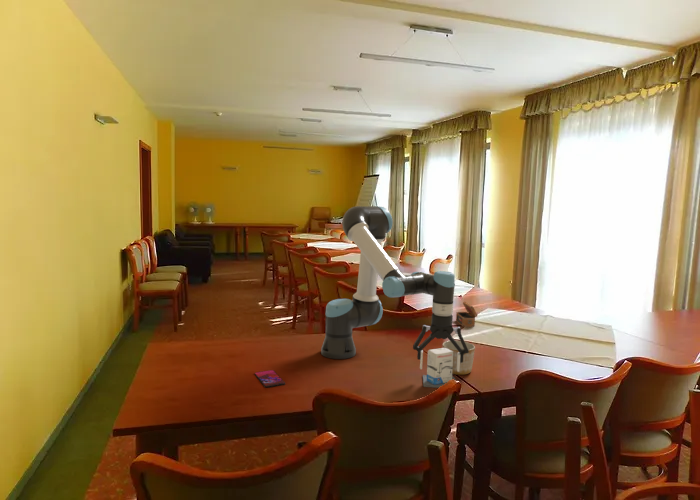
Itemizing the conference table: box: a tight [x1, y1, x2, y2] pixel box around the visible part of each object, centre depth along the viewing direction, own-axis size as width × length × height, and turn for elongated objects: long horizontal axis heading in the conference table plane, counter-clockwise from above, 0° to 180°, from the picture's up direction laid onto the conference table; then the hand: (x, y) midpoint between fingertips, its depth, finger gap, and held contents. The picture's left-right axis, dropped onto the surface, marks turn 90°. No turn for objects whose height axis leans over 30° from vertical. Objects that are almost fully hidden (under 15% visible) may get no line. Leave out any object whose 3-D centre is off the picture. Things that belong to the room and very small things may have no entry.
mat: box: [422, 374, 456, 389], centre depth 173 cm, size 12×10×1 cm
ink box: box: [426, 347, 453, 385], centre depth 172 cm, size 9×5×12 cm, turn 118°
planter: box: [442, 340, 476, 376], centre depth 185 cm, size 13×13×10 cm
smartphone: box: [254, 369, 286, 389], centre depth 173 cm, size 8×1×15 cm
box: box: [455, 301, 478, 328], centre depth 256 cm, size 28×28×12 cm
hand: (439, 369), depth 173 cm, fingers open, 13 cm apart
